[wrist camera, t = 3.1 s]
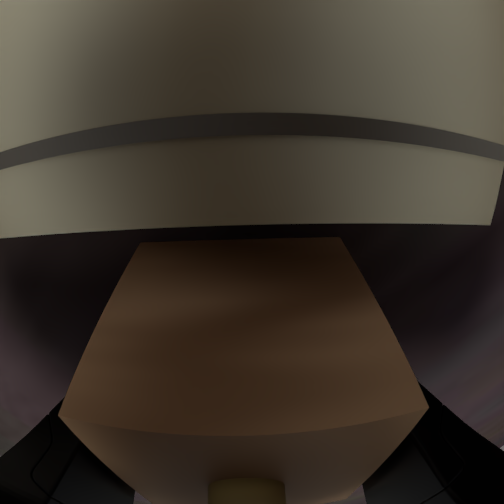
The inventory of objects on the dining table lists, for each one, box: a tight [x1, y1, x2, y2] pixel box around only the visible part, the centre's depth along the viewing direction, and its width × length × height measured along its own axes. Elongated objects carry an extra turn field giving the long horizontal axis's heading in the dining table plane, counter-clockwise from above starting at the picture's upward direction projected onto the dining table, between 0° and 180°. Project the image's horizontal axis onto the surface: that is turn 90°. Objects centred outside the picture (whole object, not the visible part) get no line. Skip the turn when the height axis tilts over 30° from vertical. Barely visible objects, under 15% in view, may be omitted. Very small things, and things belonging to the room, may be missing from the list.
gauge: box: [58, 237, 429, 504], centre depth 6 cm, size 5×5×6 cm
